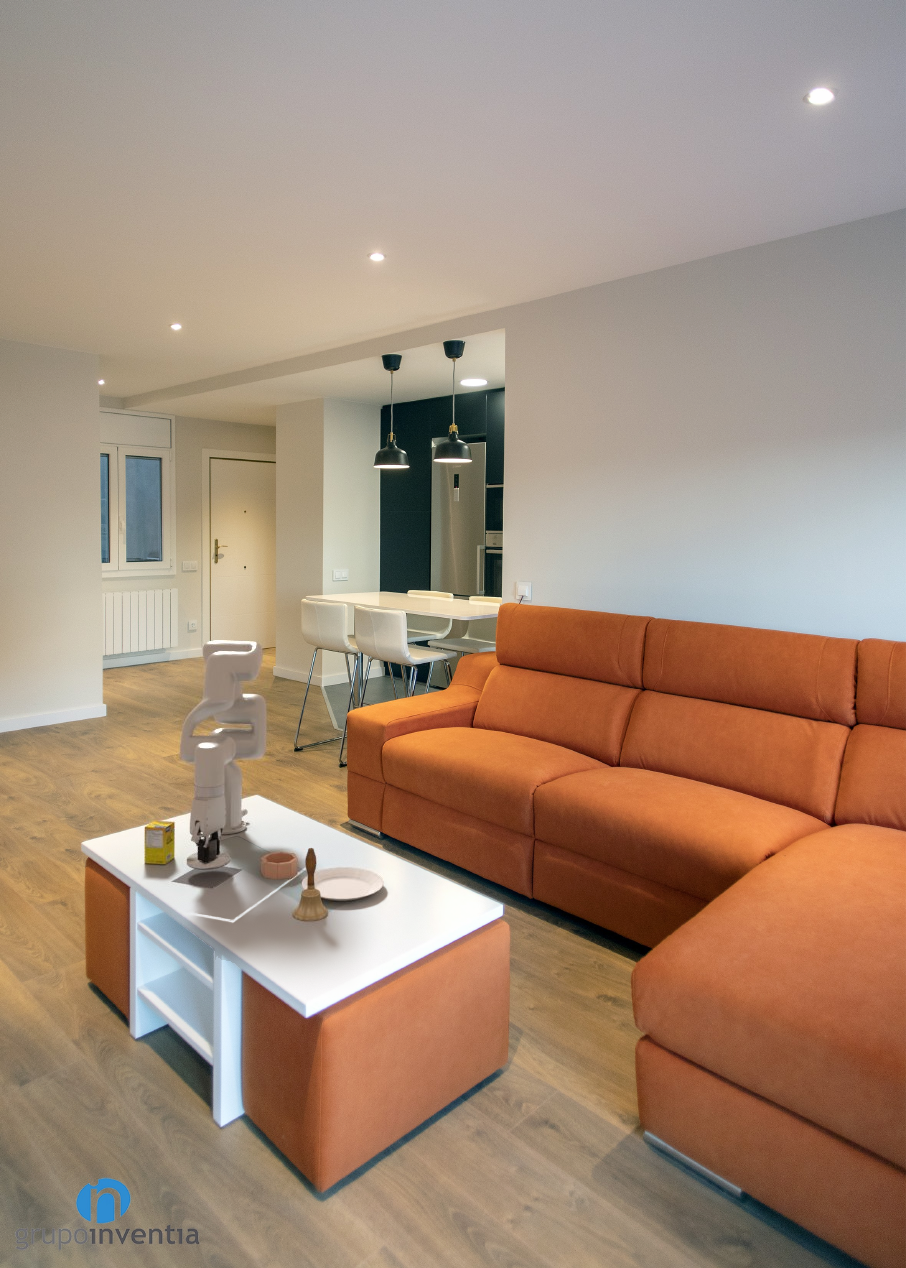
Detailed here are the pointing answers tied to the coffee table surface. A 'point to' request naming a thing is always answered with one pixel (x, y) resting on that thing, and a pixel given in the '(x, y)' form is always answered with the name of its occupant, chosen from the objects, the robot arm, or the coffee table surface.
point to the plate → (345, 883)
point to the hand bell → (310, 895)
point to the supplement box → (159, 842)
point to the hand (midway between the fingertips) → (208, 856)
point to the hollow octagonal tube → (279, 865)
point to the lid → (214, 859)
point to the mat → (207, 876)
